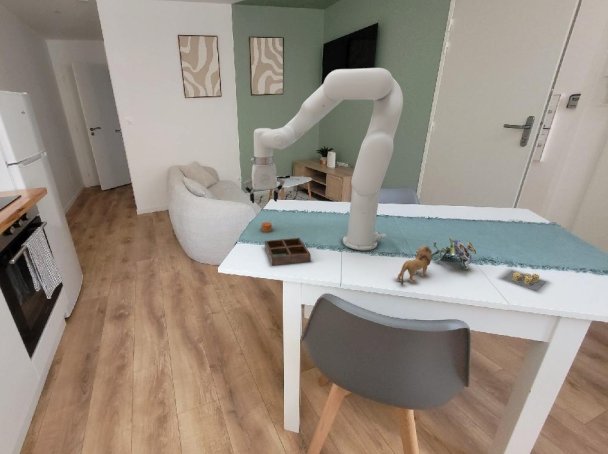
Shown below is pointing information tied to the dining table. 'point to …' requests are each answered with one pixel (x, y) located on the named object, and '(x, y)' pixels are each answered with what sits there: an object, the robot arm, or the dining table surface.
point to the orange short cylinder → (266, 227)
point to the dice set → (525, 280)
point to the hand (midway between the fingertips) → (264, 201)
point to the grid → (287, 251)
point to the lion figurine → (416, 264)
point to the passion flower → (457, 252)
